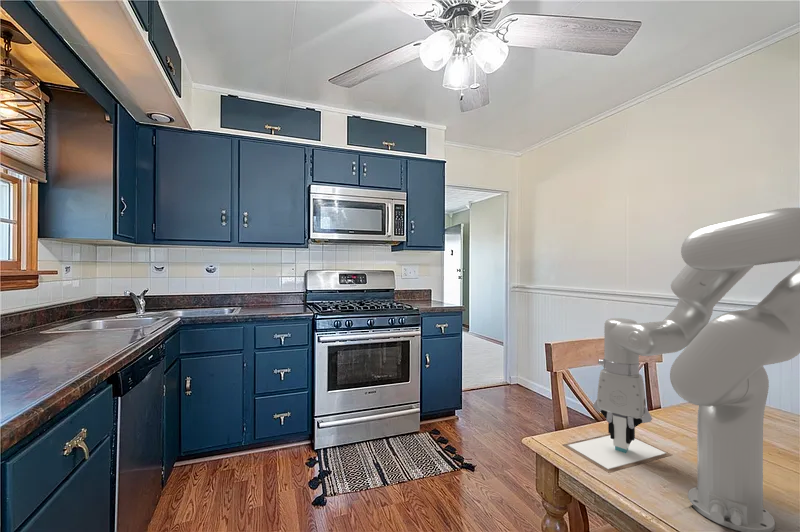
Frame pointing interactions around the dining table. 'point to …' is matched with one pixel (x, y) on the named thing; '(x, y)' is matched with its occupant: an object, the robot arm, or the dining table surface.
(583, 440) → the board
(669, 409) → the dining table surface
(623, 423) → the grey square bar
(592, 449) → the paper
